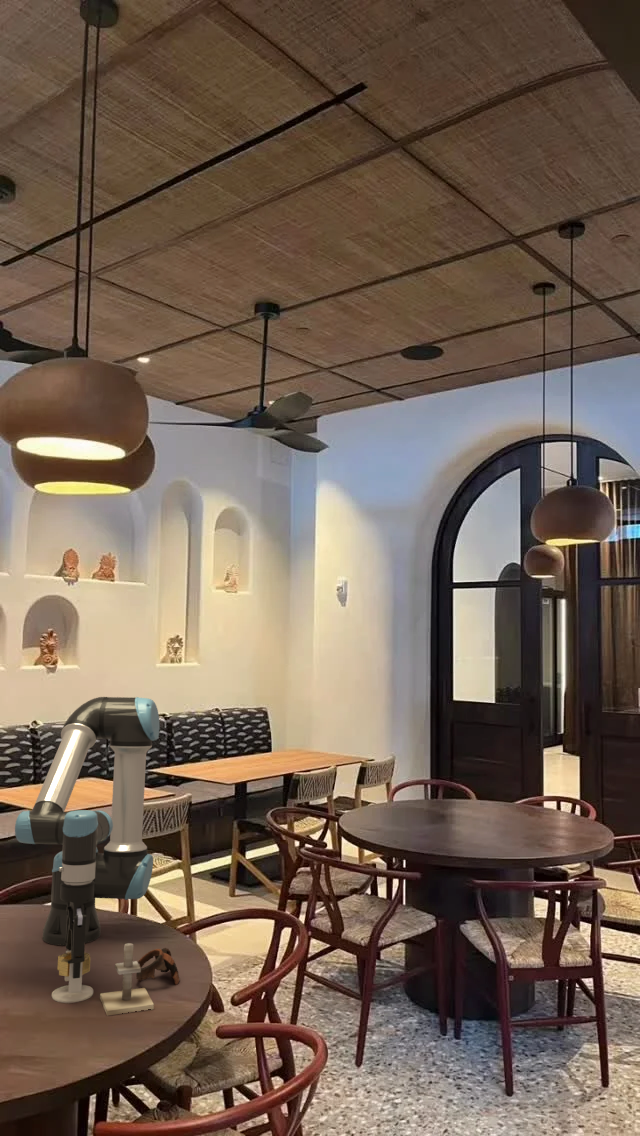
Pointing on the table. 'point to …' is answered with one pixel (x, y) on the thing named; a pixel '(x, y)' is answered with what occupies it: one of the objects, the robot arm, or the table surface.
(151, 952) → the brown black curved arch
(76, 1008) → the table surface
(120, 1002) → the peg stand
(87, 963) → the c link
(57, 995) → the coaster
